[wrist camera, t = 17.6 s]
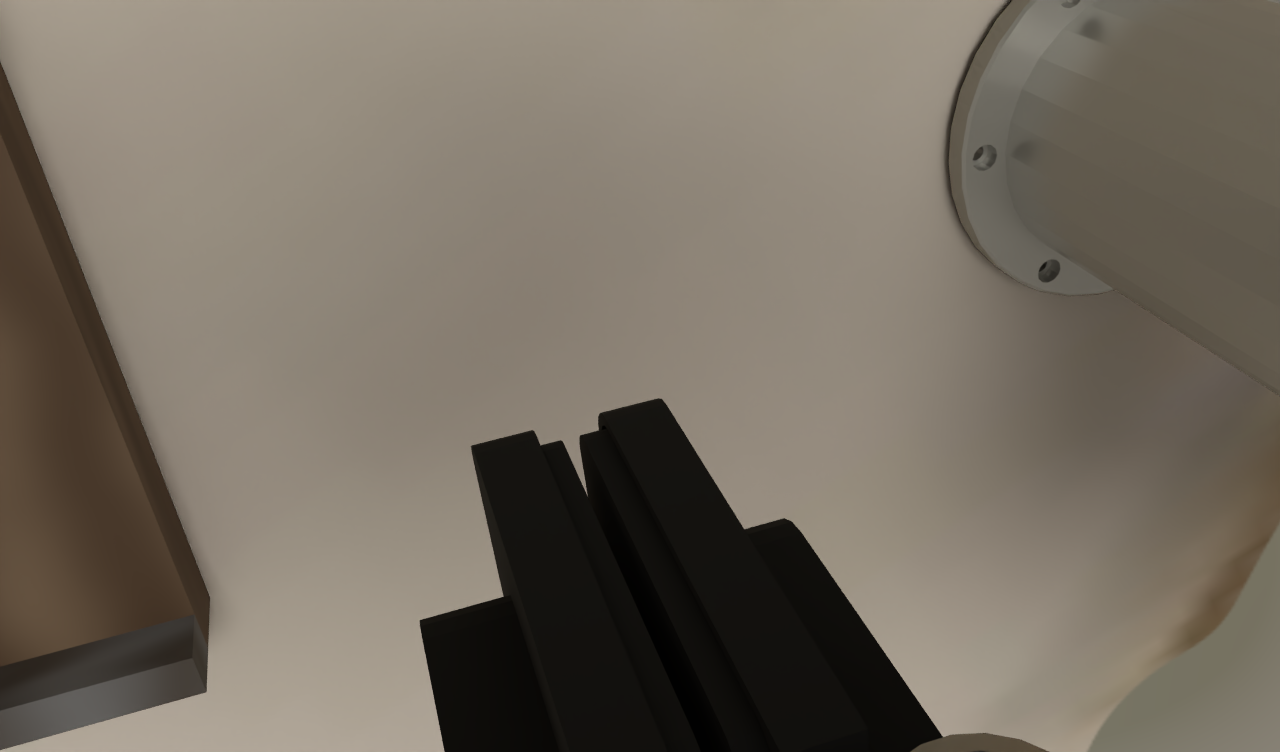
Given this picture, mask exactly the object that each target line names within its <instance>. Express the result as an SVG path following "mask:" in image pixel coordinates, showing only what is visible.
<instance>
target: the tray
mask: <svg viewBox="0 0 1280 752" xmlns="http://www.w3.org/2000/svg"><path fill="white" fill-rule="evenodd" d="M209 608H210V597H209V594H208V592H207V589H206V587H205V584H204V582H203V579H202V577H201V574H200V571H199V569H198V566H197V564H196V561H195V559H194V556H193V554H192V551H191V548H190V546H189V543H188V541H187V538H186V536H185V533H184V531H183V528H182V525H181V523H180V520H179V518H178V515H177V513H176V510H175V508H174V505H173V502H172V500H171V497H170V495H169V492H168V490H167V487H166V485H165V482H164V479H163V477H162V474H161V472H160V469H159V467H158V464H157V462H156V459H155V456H154V454H153V451H152V449H151V446H150V444H149V441H148V439H147V436H146V433H145V431H144V428H143V426H142V423H141V421H140V418H139V415H138V413H137V410H136V408H135V405H134V403H133V400H132V398H131V395H130V392H129V390H128V387H127V385H126V382H125V380H124V377H123V375H122V372H121V369H120V367H119V364H118V362H117V359H116V357H115V354H114V352H113V349H112V346H111V344H110V341H109V339H108V336H107V334H106V331H105V329H104V326H103V323H102V321H101V318H100V316H99V313H98V311H97V308H96V306H95V303H94V300H93V298H92V295H91V293H90V290H89V288H88V285H87V283H86V280H85V277H84V275H83V272H82V270H81V267H80V265H79V262H78V259H77V257H76V254H75V252H74V249H73V247H72V244H71V242H70V239H69V236H68V234H67V231H66V229H65V226H64V224H63V221H62V219H61V216H60V213H59V211H58V208H57V206H56V203H55V201H54V198H53V196H52V193H51V190H50V188H49V185H48V183H47V180H46V178H45V175H44V173H43V170H42V167H41V165H40V162H39V160H38V157H37V155H36V152H35V150H34V147H33V144H32V142H31V139H30V137H29V134H28V132H27V129H26V127H25V124H24V121H23V119H22V116H21V114H20V111H19V109H18V106H17V103H16V101H15V98H14V96H13V93H12V91H11V88H10V86H9V83H8V80H7V78H6V75H5V73H4V70H3V68H2V65H1V63H0V750H2V749H6V748H9V747H13V746H16V745H20V744H24V743H27V742H31V741H34V740H38V739H41V738H45V737H48V736H52V735H56V734H59V733H63V732H66V731H70V730H73V729H77V728H80V727H84V726H88V725H91V724H95V723H98V722H102V721H105V720H109V719H112V718H116V717H120V716H123V715H127V714H130V713H134V712H137V711H141V710H144V709H148V708H152V707H155V706H159V705H162V704H166V703H169V702H173V701H176V700H180V699H184V698H187V697H191V696H194V695H198V694H201V693H205V692H206V691H207V663H208V636H209Z"/></svg>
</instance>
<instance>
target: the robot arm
mask: <svg viewBox="0 0 1280 752" xmlns="http://www.w3.org/2000/svg"><path fill="white" fill-rule="evenodd" d="M949 171H950V180H951V189H952V196H953V199H954V202H955V205H956V208H957V211H958V214H959V217H960V221H961V224H962V225H963V227H964V228H965V230H966V232H967V233H968V235H969V237H970V238H971V240H972V242H973V243H974V245H975V247H976V248H977V249H978V250H979V251H980V252H981V253H982V254H983V255H984V256H985V257H986V258H987V259H988V260H989V261H990V262H991V263H992V264H994V265H995V266H996V267H997V268H999V269H1000V270H1002V271H1003V272H1005V273H1006V274H1008V275H1009V276H1011V277H1012V278H1013V279H1015V280H1016V281H1018V282H1019V283H1022V284H1024V285H1026V286H1028V287H1030V288H1033V289H1035V290H1038V291H1041V292H1045V293H1052V294H1058V295H1065V296H1081V295H1097V294H1101V293H1105V292H1109V291H1113V290H1116V291H1118V292H1119V293H1121V294H1122V295H1124V296H1126V297H1127V298H1129V299H1130V300H1132V301H1133V302H1135V303H1136V304H1138V305H1139V306H1141V307H1143V308H1144V309H1146V310H1147V311H1149V312H1150V313H1152V314H1153V315H1155V316H1156V317H1158V318H1160V319H1161V320H1163V321H1164V322H1166V323H1167V324H1169V325H1170V326H1172V327H1173V328H1175V329H1177V330H1178V331H1180V332H1181V333H1183V334H1184V335H1186V336H1187V337H1189V338H1190V339H1192V340H1194V341H1195V342H1197V343H1198V344H1200V345H1201V346H1203V347H1204V348H1206V349H1207V350H1209V351H1211V352H1212V353H1214V354H1215V355H1217V356H1218V357H1220V358H1221V359H1223V360H1225V361H1226V362H1228V363H1229V364H1231V365H1232V366H1234V367H1235V368H1237V369H1238V370H1240V371H1242V372H1243V373H1245V374H1246V375H1248V376H1249V377H1251V378H1252V379H1254V380H1255V381H1257V382H1259V383H1260V384H1262V385H1263V386H1265V387H1266V388H1268V389H1269V390H1271V391H1272V392H1274V393H1276V394H1277V395H1279V396H1280V0H1012V1H1011V3H1010V4H1009V5H1008V6H1007V8H1006V9H1005V10H1004V11H1003V12H1002V14H1001V15H1000V16H999V17H998V18H997V20H996V21H995V23H994V25H993V26H992V28H991V30H990V31H989V33H988V35H987V36H986V38H985V39H984V41H983V43H982V44H981V46H980V48H979V49H978V51H977V53H976V54H975V57H974V59H973V61H972V64H971V66H970V69H969V71H968V73H967V76H966V78H965V81H964V83H963V85H962V88H961V90H960V94H959V98H958V102H957V106H956V110H955V114H954V118H953V122H952V126H951V137H950V150H949ZM598 426H599V431H595V432H591V433H588V434H584V435H580V450H581V457H582V463H583V469H584V475H585V481H586V487H587V494H588V497H587V494H586V492H585V490H584V488H583V485H582V483H581V481H580V479H579V476H578V474H577V472H576V470H575V468H574V465H573V463H572V461H571V459H570V456H569V454H568V452H567V450H566V447H565V445H564V443H563V442H562V441H561V440H560V441H556V442H552V443H548V444H545V445H541V446H540V443H539V441H538V438H537V436H536V434H535V432H534V431H533V430H531V431H527V432H524V433H520V434H516V435H512V436H508V437H504V438H500V439H496V440H492V441H488V442H484V443H480V444H476V445H472V446H471V450H472V455H473V460H474V465H475V470H476V474H477V479H478V483H479V488H480V492H481V497H482V501H483V506H484V510H485V515H486V519H487V524H488V528H489V533H490V537H491V542H492V546H493V551H494V555H495V560H496V564H497V569H498V573H499V578H500V582H501V587H502V591H503V596H504V597H501V598H498V599H494V600H491V601H487V602H483V603H480V604H476V605H473V606H469V607H465V608H462V609H458V610H455V611H451V612H448V613H444V614H440V615H437V616H433V617H430V618H426V619H423V620H420V628H421V633H422V639H423V644H424V649H425V654H426V659H427V664H428V670H429V675H430V680H431V685H432V690H433V695H434V700H435V705H436V710H437V715H438V720H439V725H440V730H441V735H442V741H443V746H444V751H445V752H1048V751H1046V750H1044V749H1041V748H1039V747H1037V746H1034V745H1032V744H1030V743H1027V742H1025V741H1023V740H1020V739H1015V738H1010V737H1004V736H999V735H993V734H988V733H976V734H956V735H949V736H946V737H943V736H942V735H941V734H940V732H939V731H938V729H937V728H936V726H935V725H934V723H933V722H932V721H931V719H930V718H929V716H928V715H927V713H926V712H925V710H924V709H923V708H922V706H921V705H920V703H919V702H918V700H917V699H916V697H915V696H914V695H913V693H912V692H911V690H910V689H909V687H908V686H907V684H906V683H905V682H904V680H903V679H902V677H901V676H900V674H899V673H898V671H897V670H896V669H895V667H894V666H893V664H892V663H891V661H890V660H889V658H888V657H887V656H886V654H885V653H884V651H883V650H882V648H881V647H880V645H879V644H878V643H877V641H876V640H875V638H874V637H873V635H872V634H871V632H870V631H869V630H868V628H867V627H866V625H865V624H864V622H863V621H862V619H861V618H860V617H859V615H858V614H857V612H856V611H855V609H854V608H853V606H852V605H851V604H850V602H849V601H848V599H847V598H846V596H845V595H844V593H843V592H842V591H841V589H840V588H839V586H838V585H837V583H836V582H835V580H834V579H833V578H832V576H831V575H830V573H829V572H828V570H827V569H826V567H825V566H824V565H823V563H822V562H821V560H820V559H819V557H818V556H817V554H816V553H815V552H814V550H813V549H812V547H811V546H810V544H809V543H808V541H807V540H806V539H805V537H804V536H803V534H802V533H801V532H800V530H799V529H798V528H797V527H796V526H795V525H794V524H793V522H791V521H789V520H787V519H785V518H784V519H780V520H777V521H773V522H769V523H766V524H762V525H759V526H755V527H751V528H748V529H744V528H743V527H742V525H741V524H740V522H739V520H738V519H737V517H736V516H735V514H734V512H733V511H732V509H731V508H730V506H729V504H728V503H727V501H726V499H725V498H724V496H723V495H722V493H721V491H720V490H719V488H718V487H717V485H716V483H715V482H714V480H713V479H712V477H711V475H710V474H709V472H708V471H707V469H706V467H705V466H704V464H703V463H702V461H701V459H700V458H699V456H698V455H697V453H696V451H695V450H694V448H693V447H692V445H691V443H690V442H689V440H688V439H687V437H686V435H685V434H684V432H683V431H682V429H681V427H680V426H679V424H678V423H677V421H676V419H675V418H674V416H673V415H672V413H671V411H670V410H669V408H668V407H667V405H666V404H665V402H664V401H663V400H662V399H659V398H658V399H654V400H650V401H646V402H642V403H638V404H634V405H630V406H626V407H622V408H618V409H615V410H611V411H607V412H603V413H600V414H599V417H598Z"/></svg>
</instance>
